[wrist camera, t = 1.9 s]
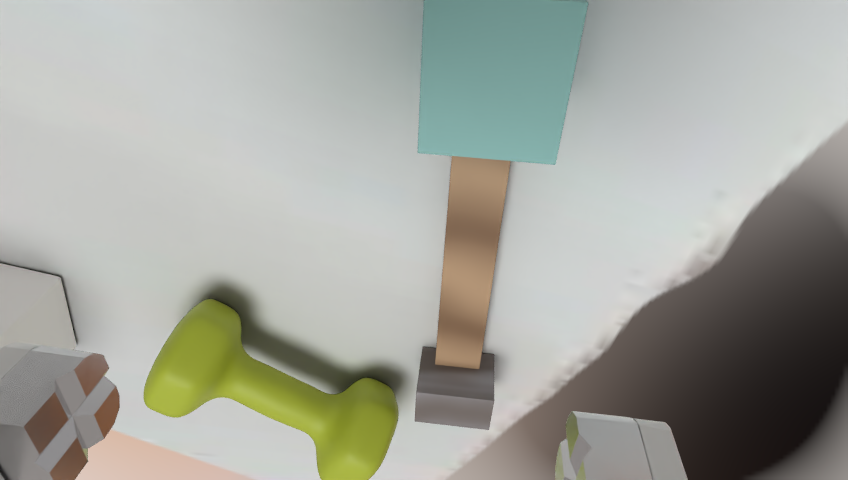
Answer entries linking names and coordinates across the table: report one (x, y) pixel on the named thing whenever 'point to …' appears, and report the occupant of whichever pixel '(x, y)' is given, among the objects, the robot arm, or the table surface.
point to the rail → (465, 300)
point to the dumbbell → (271, 393)
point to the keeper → (497, 77)
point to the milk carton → (33, 309)
